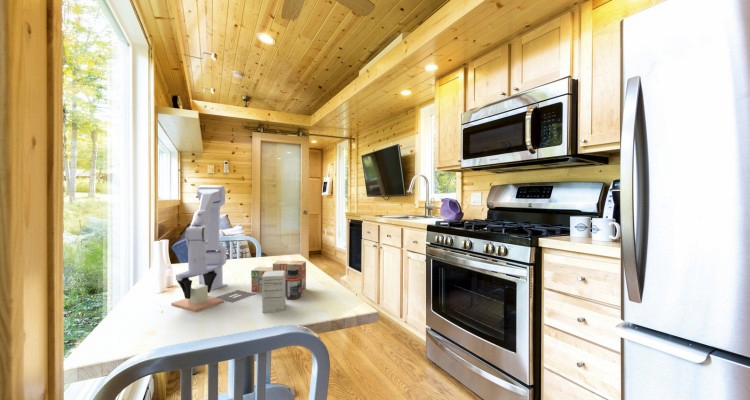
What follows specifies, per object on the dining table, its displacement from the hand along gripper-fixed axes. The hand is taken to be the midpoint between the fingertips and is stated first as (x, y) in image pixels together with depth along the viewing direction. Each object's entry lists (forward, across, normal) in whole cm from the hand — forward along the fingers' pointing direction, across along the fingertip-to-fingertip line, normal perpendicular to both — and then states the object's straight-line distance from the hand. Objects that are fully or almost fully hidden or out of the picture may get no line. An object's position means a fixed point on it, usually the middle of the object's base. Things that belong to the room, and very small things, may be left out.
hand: (197, 295), depth 115 cm
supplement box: (+4, +10, -28) cm, 30 cm away
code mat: (+3, +12, -5) cm, 13 cm away
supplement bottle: (+3, +22, -26) cm, 34 cm away
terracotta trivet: (+3, 0, 0) cm, 3 cm away
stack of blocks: (+4, +26, -15) cm, 30 cm away
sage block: (+2, 0, 0) cm, 2 cm away
